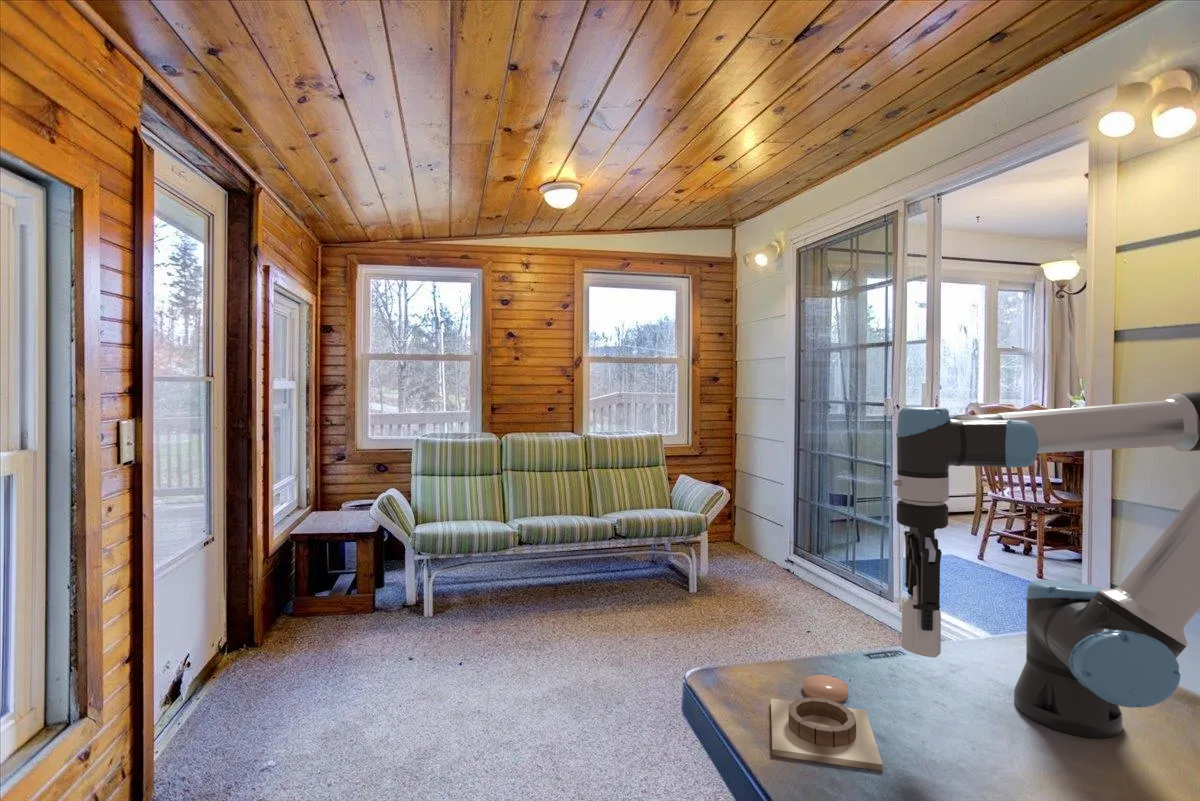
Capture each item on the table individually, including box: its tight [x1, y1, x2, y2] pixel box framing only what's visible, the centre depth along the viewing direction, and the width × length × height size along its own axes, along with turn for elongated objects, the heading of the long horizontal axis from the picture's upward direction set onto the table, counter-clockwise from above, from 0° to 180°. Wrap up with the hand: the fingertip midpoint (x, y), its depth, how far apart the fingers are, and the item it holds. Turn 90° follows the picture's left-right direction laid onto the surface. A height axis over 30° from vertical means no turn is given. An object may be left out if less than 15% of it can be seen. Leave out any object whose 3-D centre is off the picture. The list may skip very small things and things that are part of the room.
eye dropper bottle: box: [901, 586, 942, 658], centre depth 102 cm, size 4×6×12 cm
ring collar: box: [770, 696, 884, 772], centre depth 102 cm, size 16×16×4 cm
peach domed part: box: [802, 674, 849, 704], centre depth 116 cm, size 8×8×2 cm
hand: (921, 641), depth 102 cm, fingers closed on eye dropper bottle, 4 cm apart
